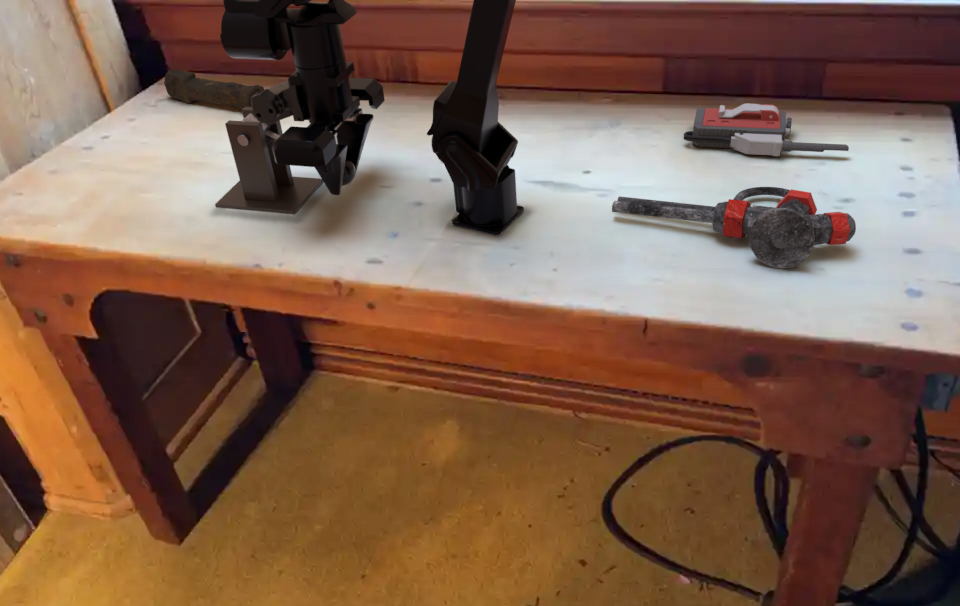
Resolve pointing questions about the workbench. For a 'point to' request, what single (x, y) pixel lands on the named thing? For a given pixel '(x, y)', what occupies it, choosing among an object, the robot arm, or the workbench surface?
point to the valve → (759, 222)
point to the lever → (272, 137)
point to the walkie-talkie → (749, 131)
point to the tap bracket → (262, 173)
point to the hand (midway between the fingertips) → (343, 185)
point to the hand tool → (208, 90)
